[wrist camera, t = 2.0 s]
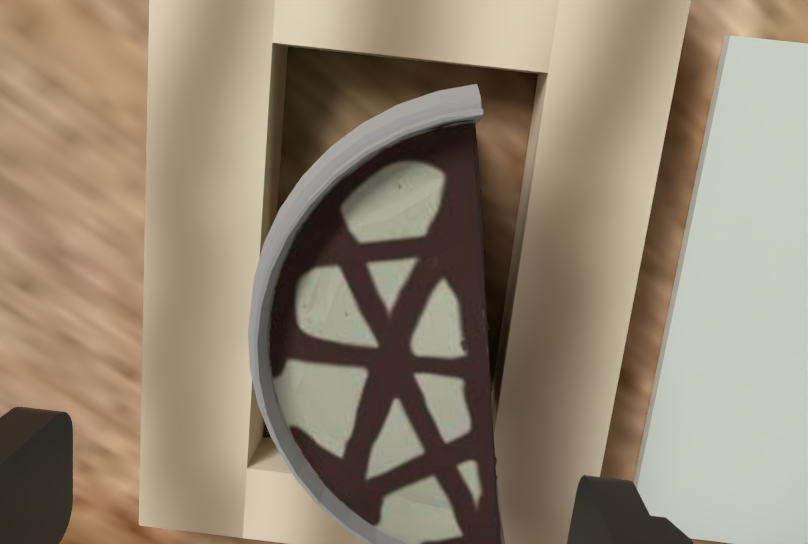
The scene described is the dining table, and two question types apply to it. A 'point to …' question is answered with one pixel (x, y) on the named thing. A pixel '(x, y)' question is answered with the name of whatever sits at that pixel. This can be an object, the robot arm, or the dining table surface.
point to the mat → (739, 317)
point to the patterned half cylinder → (384, 330)
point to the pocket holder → (530, 262)
